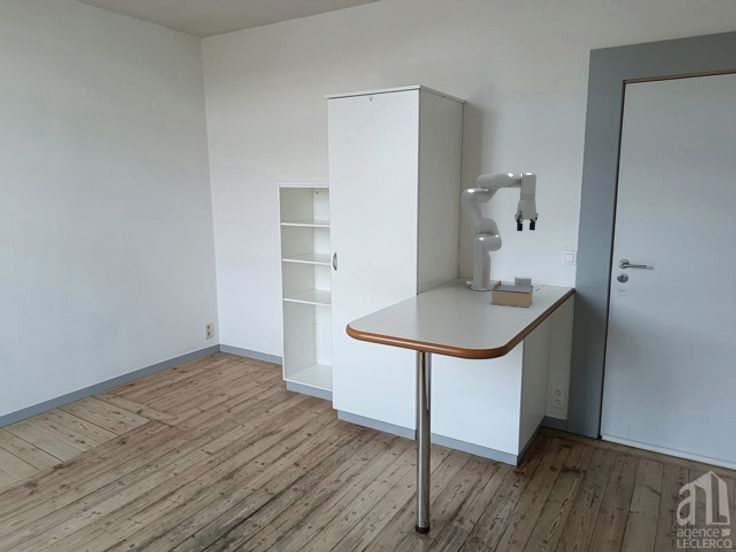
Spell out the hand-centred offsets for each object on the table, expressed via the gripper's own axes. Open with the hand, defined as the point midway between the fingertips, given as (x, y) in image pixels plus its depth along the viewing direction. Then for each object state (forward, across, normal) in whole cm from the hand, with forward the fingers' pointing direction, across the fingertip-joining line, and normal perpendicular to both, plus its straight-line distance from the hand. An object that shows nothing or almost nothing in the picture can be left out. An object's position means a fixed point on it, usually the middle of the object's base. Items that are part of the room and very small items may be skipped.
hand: (525, 230), depth 263 cm
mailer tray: (+37, +11, +3) cm, 39 cm away
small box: (+37, -7, -6) cm, 38 cm away
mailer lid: (+30, +11, +3) cm, 32 cm away
